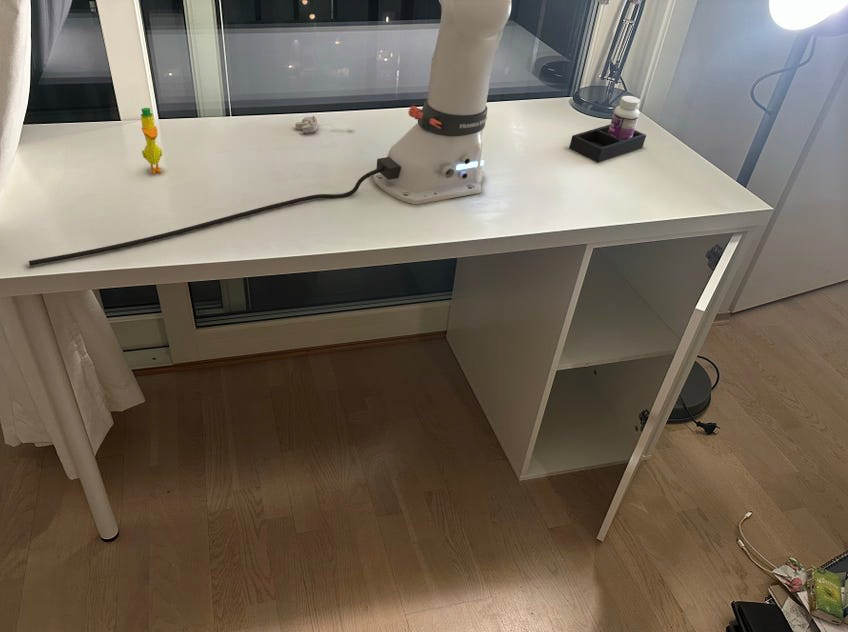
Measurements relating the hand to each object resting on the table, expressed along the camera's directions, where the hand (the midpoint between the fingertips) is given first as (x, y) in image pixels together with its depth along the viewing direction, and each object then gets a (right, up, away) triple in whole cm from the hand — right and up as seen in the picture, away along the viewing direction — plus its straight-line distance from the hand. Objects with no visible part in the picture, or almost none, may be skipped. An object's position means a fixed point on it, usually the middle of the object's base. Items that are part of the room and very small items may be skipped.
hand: (617, 2), depth 127 cm
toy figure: (-86, -29, +8) cm, 91 cm away
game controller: (-55, -14, +27) cm, 63 cm away
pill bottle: (+11, -16, +30) cm, 36 cm away
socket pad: (+7, -18, +29) cm, 34 cm away
